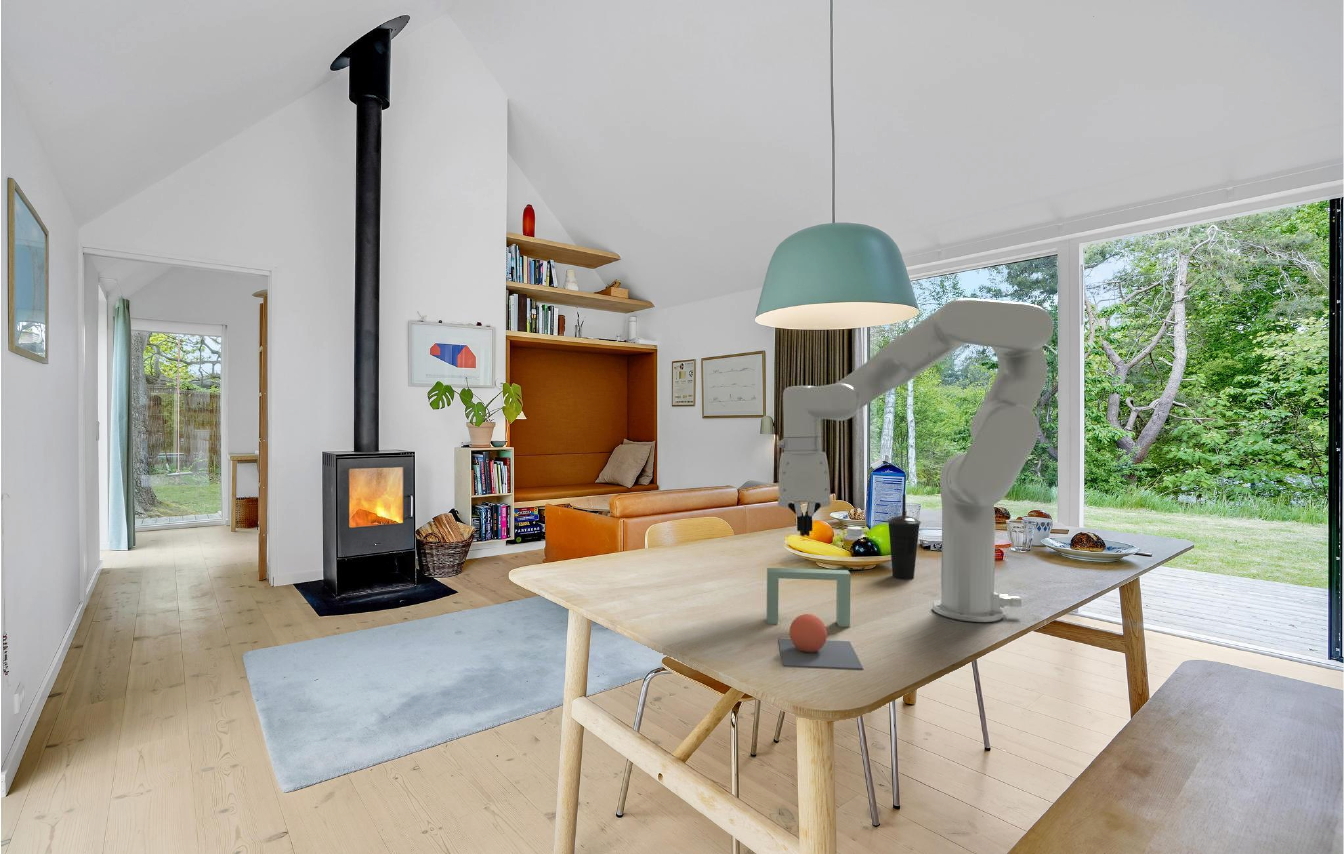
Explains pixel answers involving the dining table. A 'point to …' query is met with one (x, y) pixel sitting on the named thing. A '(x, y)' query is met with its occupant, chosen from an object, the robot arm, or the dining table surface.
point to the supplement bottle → (852, 537)
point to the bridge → (817, 574)
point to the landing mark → (820, 655)
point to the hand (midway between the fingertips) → (804, 534)
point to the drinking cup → (903, 544)
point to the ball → (808, 633)
